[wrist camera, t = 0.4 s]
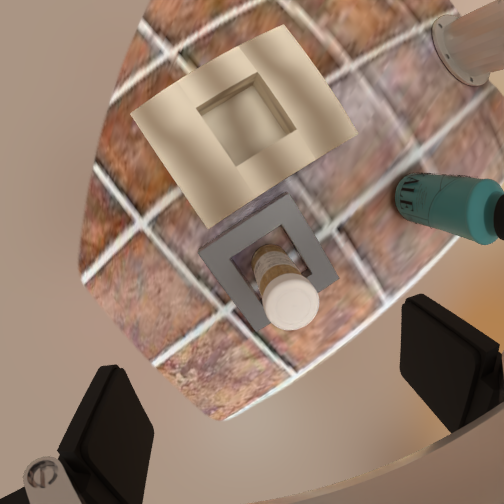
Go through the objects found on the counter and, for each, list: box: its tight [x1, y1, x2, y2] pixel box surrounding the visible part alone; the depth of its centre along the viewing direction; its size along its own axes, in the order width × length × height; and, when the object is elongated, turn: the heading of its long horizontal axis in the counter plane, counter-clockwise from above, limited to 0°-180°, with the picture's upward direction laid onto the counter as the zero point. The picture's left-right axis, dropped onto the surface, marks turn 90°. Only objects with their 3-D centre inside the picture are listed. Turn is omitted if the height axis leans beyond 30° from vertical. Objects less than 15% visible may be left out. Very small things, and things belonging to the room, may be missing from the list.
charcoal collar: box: [198, 192, 339, 332], centre depth 37 cm, size 12×12×2 cm
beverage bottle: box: [395, 172, 504, 245], centre depth 28 cm, size 6×7×20 cm
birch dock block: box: [130, 25, 358, 229], centre depth 31 cm, size 18×14×6 cm
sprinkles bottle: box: [251, 245, 319, 330], centre depth 31 cm, size 5×5×13 cm
